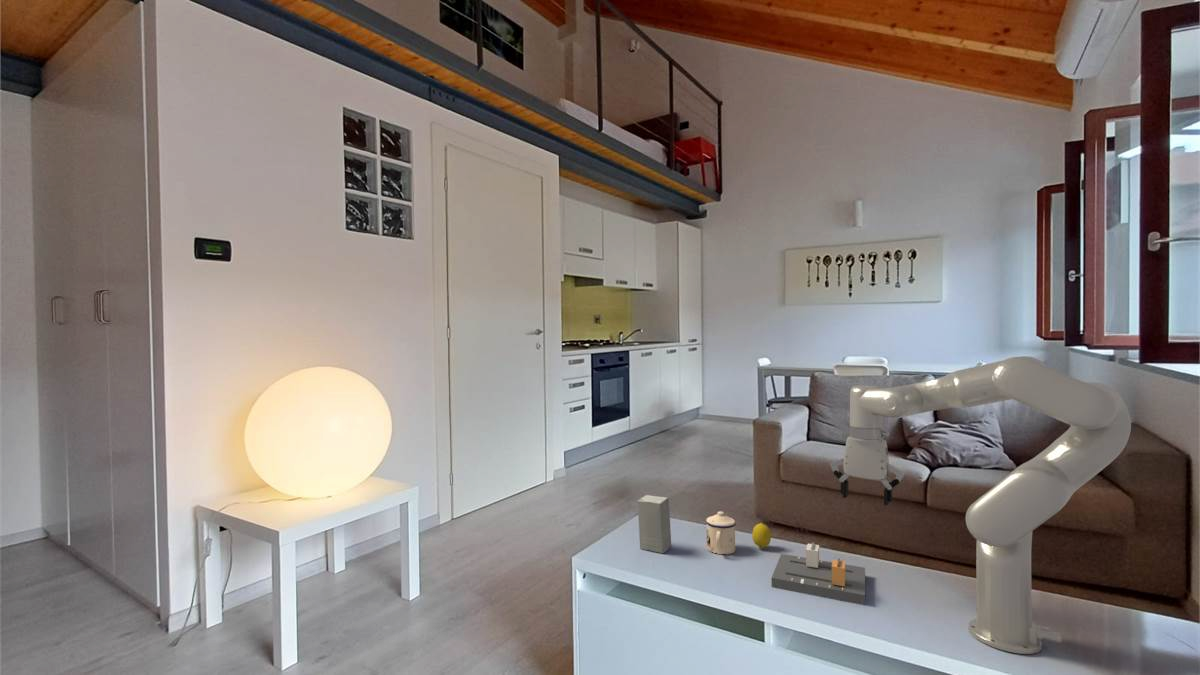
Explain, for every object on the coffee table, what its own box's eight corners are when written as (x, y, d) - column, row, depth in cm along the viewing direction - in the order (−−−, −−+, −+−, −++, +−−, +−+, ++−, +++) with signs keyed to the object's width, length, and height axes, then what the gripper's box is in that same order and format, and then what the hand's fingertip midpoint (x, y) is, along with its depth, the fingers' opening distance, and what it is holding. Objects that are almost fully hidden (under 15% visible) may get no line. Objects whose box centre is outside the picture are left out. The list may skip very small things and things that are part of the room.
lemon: (768, 545, 169) (768, 520, 169) (772, 552, 163) (772, 526, 163) (750, 544, 169) (750, 519, 169) (754, 551, 164) (754, 525, 164)
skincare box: (671, 547, 167) (671, 497, 167) (661, 555, 161) (661, 502, 161) (647, 542, 172) (647, 493, 172) (637, 549, 166) (637, 498, 166)
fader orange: (845, 578, 138) (845, 559, 138) (844, 586, 134) (844, 566, 134) (833, 576, 140) (832, 557, 140) (831, 584, 135) (831, 564, 135)
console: (865, 576, 146) (865, 567, 146) (864, 605, 130) (864, 594, 130) (781, 561, 156) (781, 553, 156) (771, 587, 140) (771, 577, 140)
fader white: (819, 561, 149) (819, 543, 150) (817, 567, 145) (817, 549, 145) (807, 559, 151) (807, 541, 151) (806, 565, 146) (806, 547, 146)
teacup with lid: (708, 542, 171) (707, 506, 171) (737, 546, 168) (736, 509, 168) (702, 556, 160) (702, 517, 160) (733, 560, 157) (733, 521, 157)
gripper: (906, 435, 134) (906, 503, 134) (834, 428, 145) (833, 491, 145) (902, 439, 128) (901, 510, 128) (826, 432, 139) (826, 497, 139)
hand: (865, 500), depth 136 cm, fingers open, 9 cm apart
